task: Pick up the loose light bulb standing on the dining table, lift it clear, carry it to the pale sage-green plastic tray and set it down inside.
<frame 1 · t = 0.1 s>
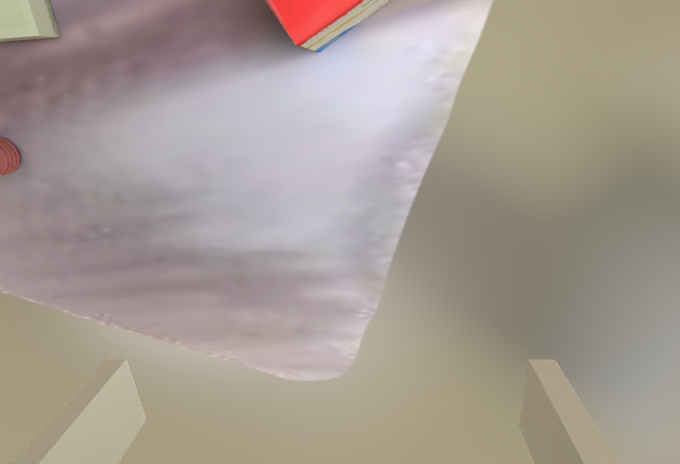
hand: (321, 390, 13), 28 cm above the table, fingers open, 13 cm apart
light bulb: (8, 149, 41), on the table
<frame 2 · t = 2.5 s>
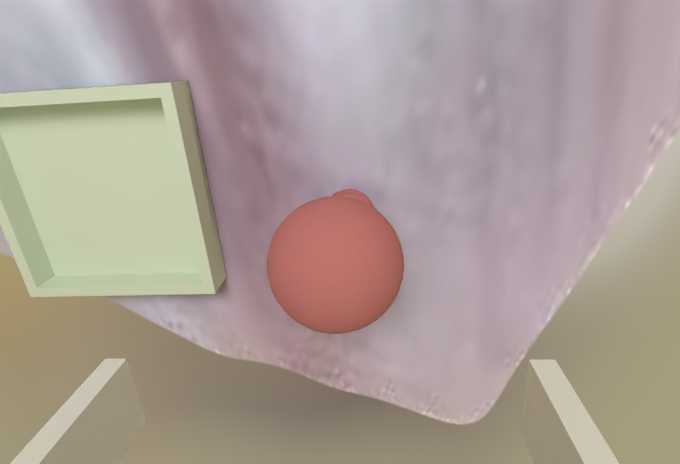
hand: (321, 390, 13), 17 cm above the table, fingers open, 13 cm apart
light bulb: (344, 208, 29), on the table
tray: (113, 192, 30), on the table
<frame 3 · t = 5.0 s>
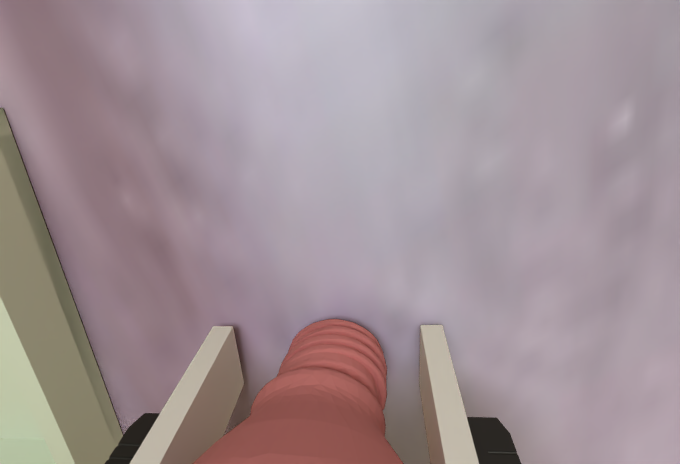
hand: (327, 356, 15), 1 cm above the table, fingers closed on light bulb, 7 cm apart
light bulb: (329, 343, 15), on the table, touching gripper
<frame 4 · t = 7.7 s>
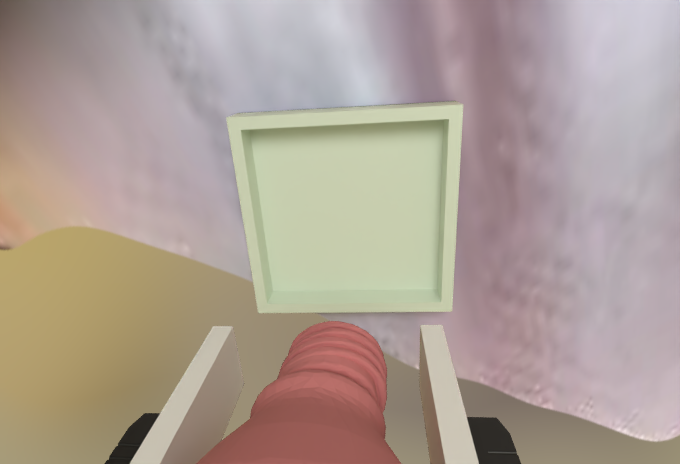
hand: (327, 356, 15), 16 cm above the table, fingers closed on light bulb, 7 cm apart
light bulb: (329, 345, 15), point 15 cm above the table, touching gripper
tray: (349, 209, 30), on the table
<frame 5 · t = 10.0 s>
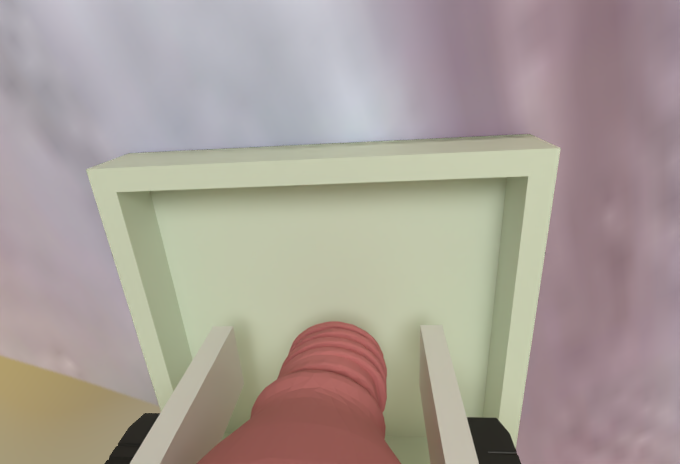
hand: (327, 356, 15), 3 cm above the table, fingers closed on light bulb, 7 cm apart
light bulb: (329, 345, 15), point 2 cm above the table, touching gripper
tray: (333, 313, 17), on the table
when the fingers open (3 cm above the table, at t = 10.9 s): light bulb drops 1 cm, resting on tray.
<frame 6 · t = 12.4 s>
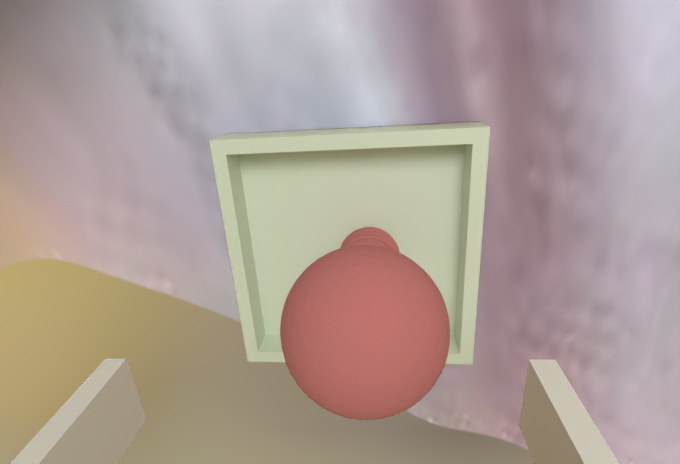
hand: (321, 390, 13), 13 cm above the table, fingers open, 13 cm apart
light bulb: (363, 247, 25), resting on tray
tray: (353, 244, 26), on the table
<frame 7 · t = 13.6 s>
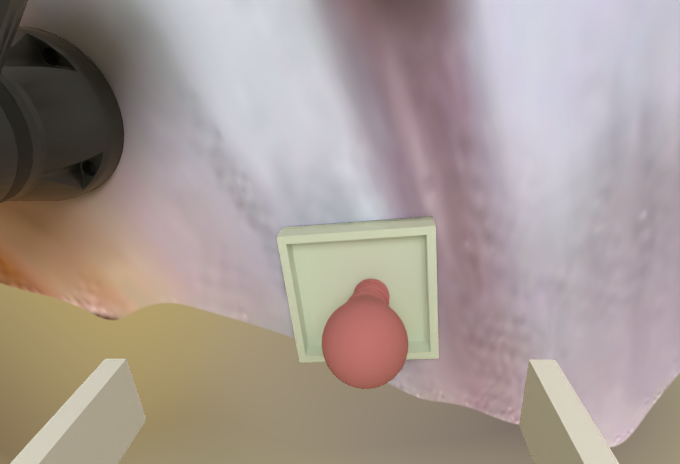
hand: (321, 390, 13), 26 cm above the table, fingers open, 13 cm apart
light bulb: (368, 289, 41), resting on tray
tray: (362, 287, 42), on the table
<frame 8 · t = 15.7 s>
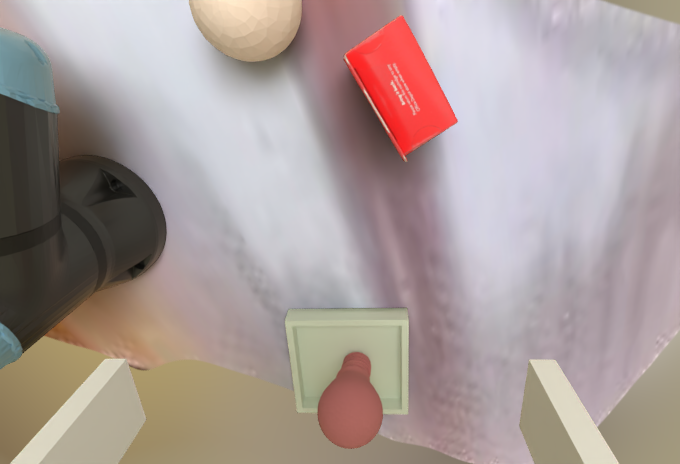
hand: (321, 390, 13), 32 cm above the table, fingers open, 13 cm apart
light bulb: (354, 358, 52), resting on tray
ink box: (394, 83, 39), on the table
tray: (350, 356, 52), on the table
egg: (264, 12, 38), on the table
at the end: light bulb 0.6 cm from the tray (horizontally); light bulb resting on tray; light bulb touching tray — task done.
